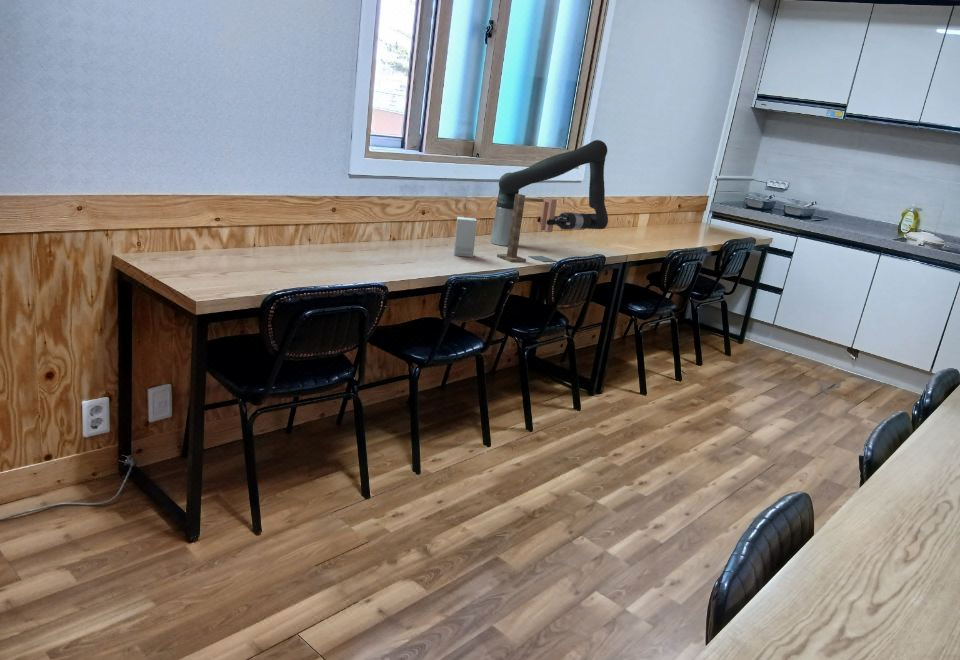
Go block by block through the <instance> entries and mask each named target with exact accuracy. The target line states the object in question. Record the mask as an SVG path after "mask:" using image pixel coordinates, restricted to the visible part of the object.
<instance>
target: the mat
mask: <svg viewBox="0 0 960 660" xmlns="http://www.w3.org/2000/svg"><path fill="white" fill-rule="evenodd" d="M527 257H528V258H531V259H532V260H535V261H539V262H542V263H557V262H558V261H557V260H555V259H553V258H550V257H546V256H544V255H529V256H527Z"/></svg>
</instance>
